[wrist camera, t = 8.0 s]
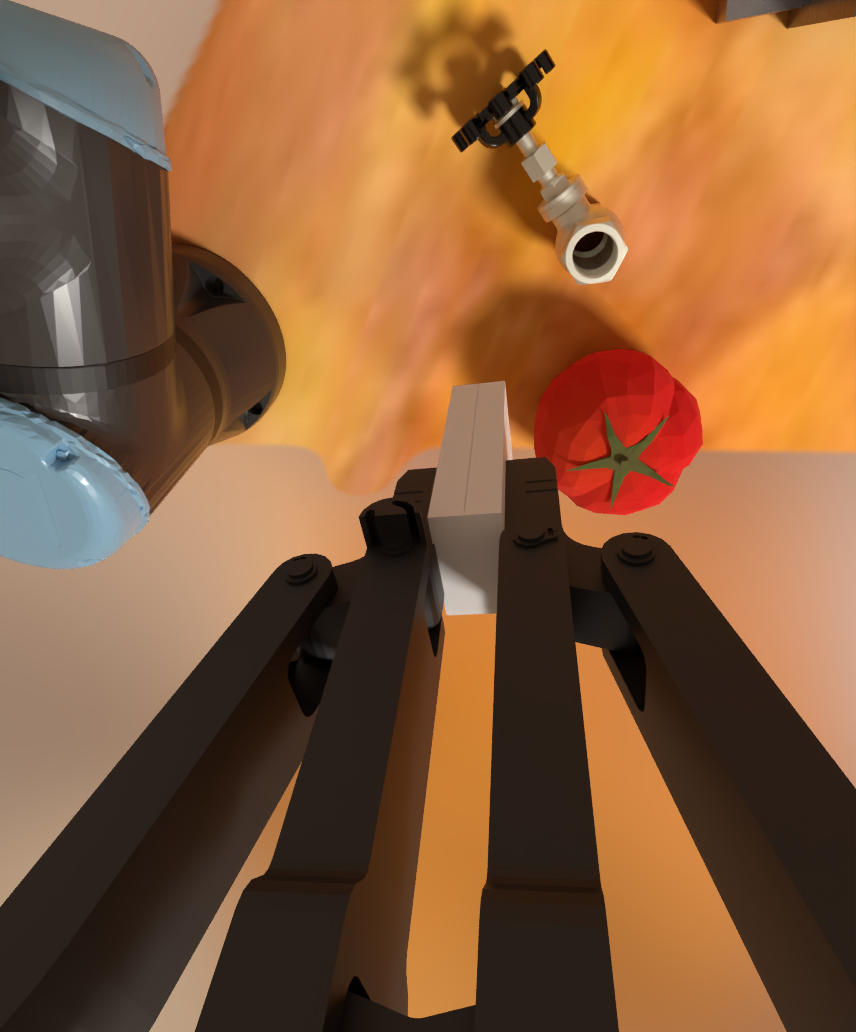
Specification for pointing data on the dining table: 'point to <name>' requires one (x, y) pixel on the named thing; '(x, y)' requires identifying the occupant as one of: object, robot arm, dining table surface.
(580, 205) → the valve
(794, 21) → the heatsink
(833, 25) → the dining table surface
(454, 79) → the dining table surface
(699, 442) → the tomato
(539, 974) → the robot arm
